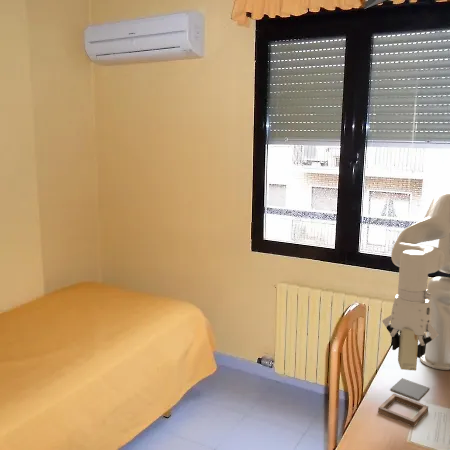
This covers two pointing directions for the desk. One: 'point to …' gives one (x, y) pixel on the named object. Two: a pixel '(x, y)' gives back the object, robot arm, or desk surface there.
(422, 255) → the robot arm
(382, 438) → the desk surface
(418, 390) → the rubber mat
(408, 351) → the skincare box
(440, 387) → the desk surface
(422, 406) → the square wooden frame
